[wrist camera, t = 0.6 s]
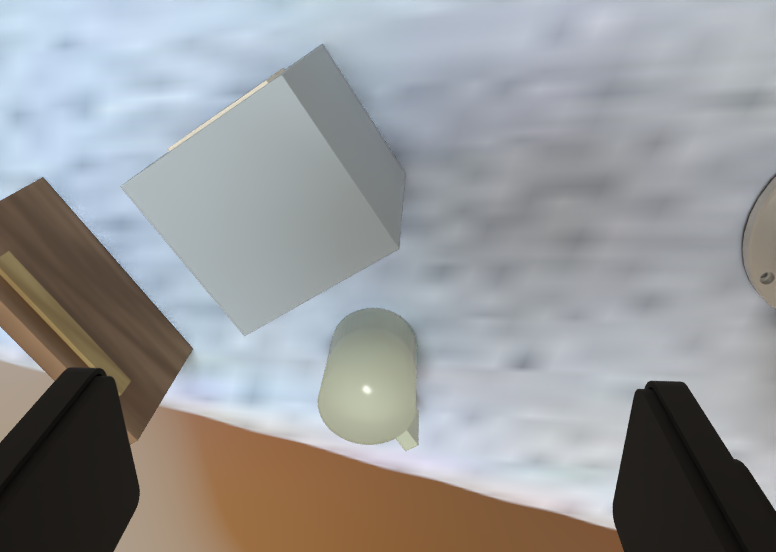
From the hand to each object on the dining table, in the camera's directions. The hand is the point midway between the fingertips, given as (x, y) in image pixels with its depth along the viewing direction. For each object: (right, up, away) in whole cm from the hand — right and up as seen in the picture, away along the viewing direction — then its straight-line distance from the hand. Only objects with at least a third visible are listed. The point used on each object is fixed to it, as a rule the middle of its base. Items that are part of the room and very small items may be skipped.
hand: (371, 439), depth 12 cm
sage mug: (0, -3, +34) cm, 34 cm away
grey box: (-5, +11, +28) cm, 30 cm away
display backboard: (-18, +3, +32) cm, 37 cm away
